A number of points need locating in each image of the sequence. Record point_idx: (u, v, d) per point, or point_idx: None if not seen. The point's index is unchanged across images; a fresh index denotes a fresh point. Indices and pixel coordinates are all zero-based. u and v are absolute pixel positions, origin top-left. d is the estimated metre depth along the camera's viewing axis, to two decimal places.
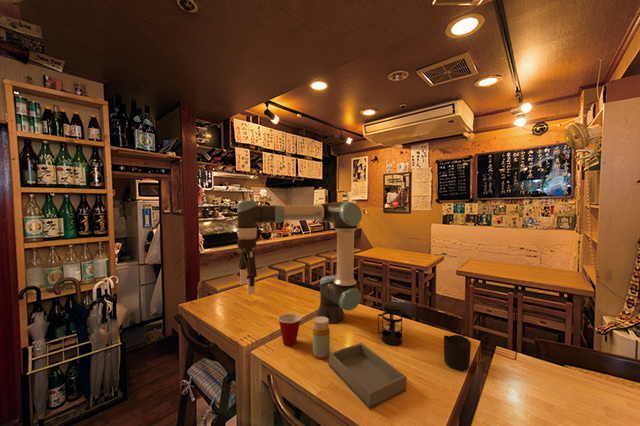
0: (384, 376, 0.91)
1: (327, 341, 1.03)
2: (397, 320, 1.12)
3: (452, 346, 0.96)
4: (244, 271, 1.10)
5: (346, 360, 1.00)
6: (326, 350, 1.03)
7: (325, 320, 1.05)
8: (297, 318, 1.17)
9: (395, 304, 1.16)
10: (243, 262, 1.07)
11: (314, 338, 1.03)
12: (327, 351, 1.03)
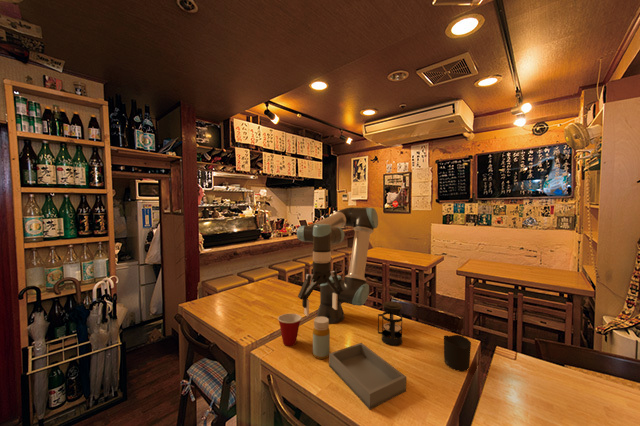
0: (384, 376, 0.91)
1: (327, 341, 1.03)
2: (397, 320, 1.12)
3: (452, 346, 0.96)
4: (334, 295, 1.08)
5: (346, 360, 1.00)
6: (326, 350, 1.03)
7: (325, 320, 1.05)
8: (297, 318, 1.17)
9: (395, 304, 1.16)
10: (329, 285, 1.07)
11: (314, 338, 1.03)
12: (327, 351, 1.03)
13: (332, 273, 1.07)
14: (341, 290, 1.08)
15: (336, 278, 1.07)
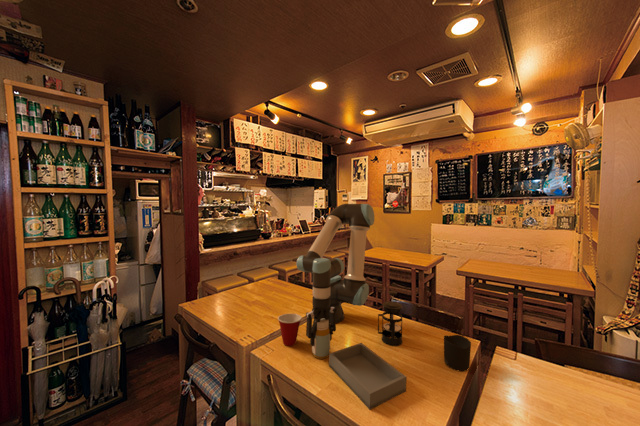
0: (384, 376, 0.91)
1: (327, 341, 1.03)
2: (397, 320, 1.12)
3: (452, 346, 0.96)
4: None
5: (346, 360, 1.00)
6: (326, 350, 1.03)
7: (325, 320, 1.05)
8: (297, 318, 1.17)
9: (395, 304, 1.16)
10: None
11: None
12: (327, 351, 1.03)
13: (332, 309, 1.07)
14: (334, 329, 1.07)
15: (334, 315, 1.07)
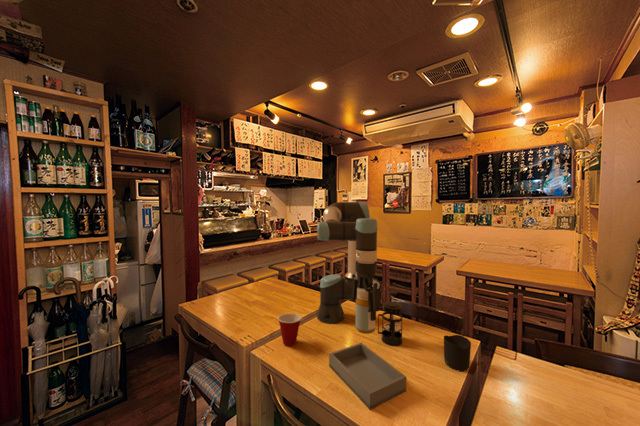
0: (384, 376, 0.91)
1: None
2: (397, 320, 1.12)
3: (452, 346, 0.96)
4: None
5: (346, 360, 1.00)
6: None
7: None
8: (297, 318, 1.17)
9: (395, 304, 1.16)
10: None
11: None
12: None
13: None
14: None
15: None
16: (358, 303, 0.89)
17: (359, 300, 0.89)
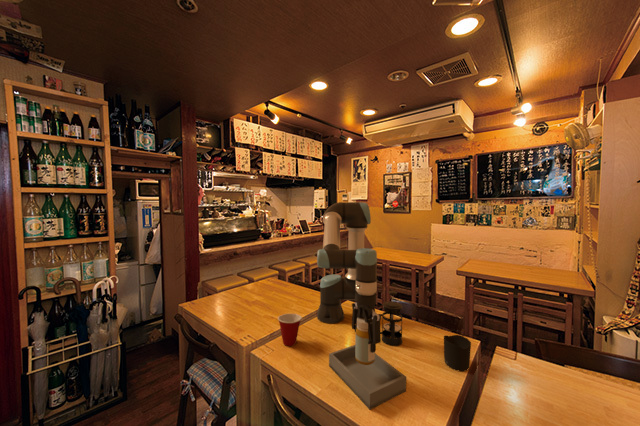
0: (384, 376, 0.91)
1: None
2: (397, 320, 1.12)
3: (452, 346, 0.96)
4: None
5: (346, 360, 1.00)
6: None
7: None
8: (297, 318, 1.17)
9: (395, 304, 1.16)
10: None
11: None
12: None
13: None
14: None
15: None
16: (358, 334, 0.89)
17: (359, 331, 0.89)
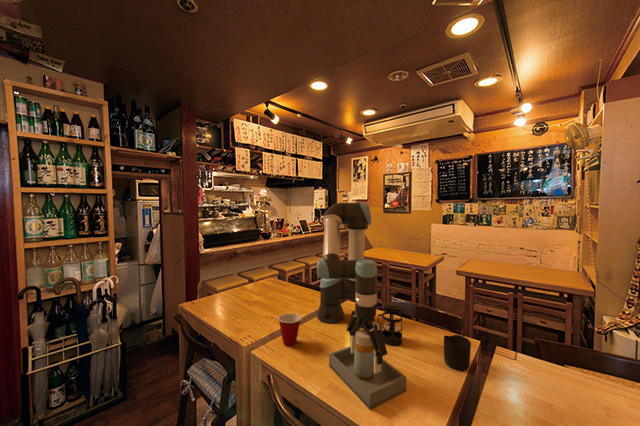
0: (384, 376, 0.91)
1: None
2: (397, 320, 1.12)
3: (452, 346, 0.96)
4: (355, 337, 0.97)
5: (346, 360, 1.00)
6: None
7: (364, 331, 0.94)
8: (297, 318, 1.17)
9: (395, 304, 1.16)
10: (356, 328, 0.94)
11: (371, 356, 0.89)
12: None
13: None
14: None
15: None
16: (357, 349, 0.90)
17: (358, 346, 0.90)
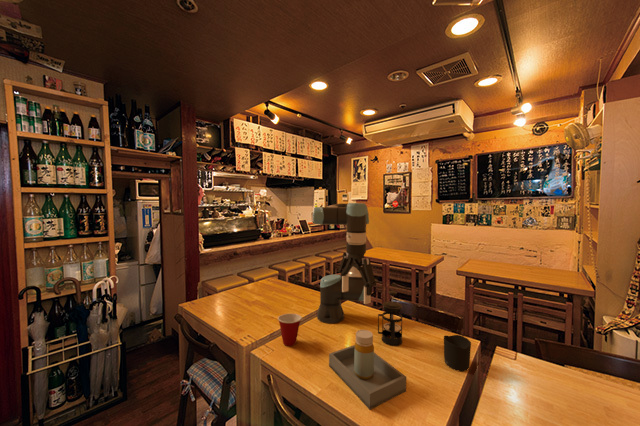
0: (384, 376, 0.91)
1: None
2: (397, 320, 1.12)
3: (452, 346, 0.96)
4: (346, 277, 1.03)
5: (346, 360, 1.00)
6: None
7: (364, 331, 0.94)
8: (297, 318, 1.17)
9: (395, 304, 1.16)
10: (347, 268, 1.01)
11: (371, 357, 0.89)
12: None
13: None
14: None
15: None
16: (357, 349, 0.90)
17: (358, 346, 0.90)
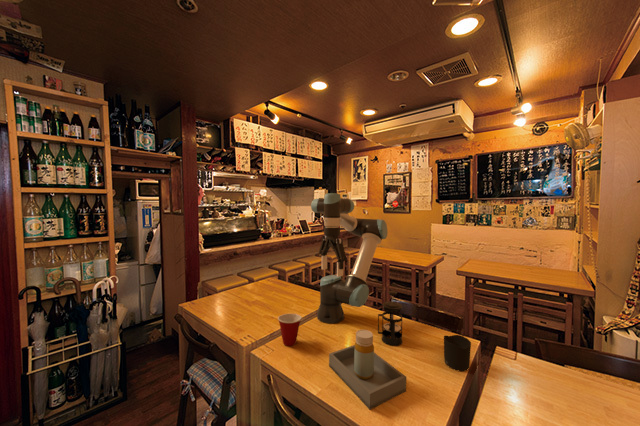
0: (384, 376, 0.91)
1: None
2: (397, 320, 1.12)
3: (452, 346, 0.96)
4: (325, 257, 1.22)
5: (346, 360, 1.00)
6: None
7: (364, 331, 0.94)
8: (297, 318, 1.17)
9: (395, 304, 1.16)
10: (325, 248, 1.20)
11: (371, 357, 0.89)
12: None
13: None
14: None
15: None
16: (357, 349, 0.90)
17: (358, 346, 0.90)
